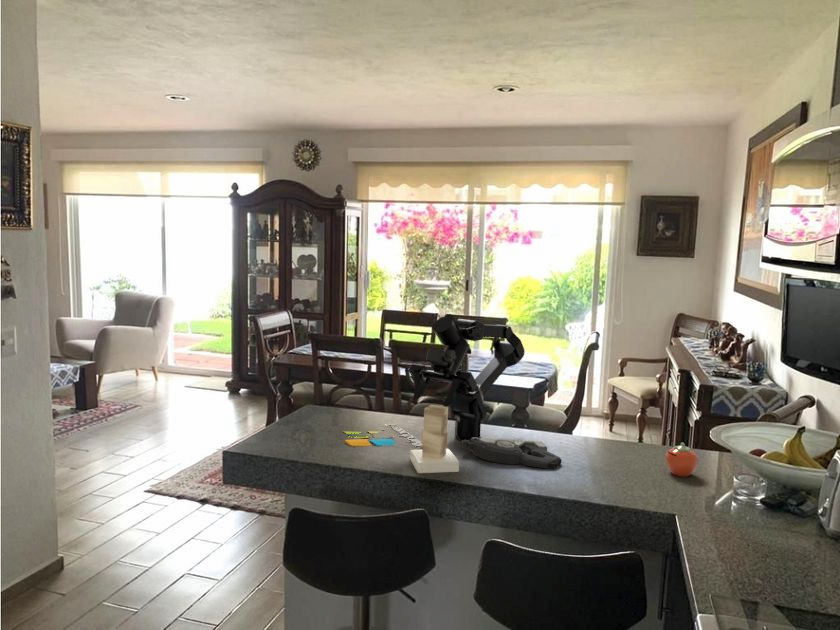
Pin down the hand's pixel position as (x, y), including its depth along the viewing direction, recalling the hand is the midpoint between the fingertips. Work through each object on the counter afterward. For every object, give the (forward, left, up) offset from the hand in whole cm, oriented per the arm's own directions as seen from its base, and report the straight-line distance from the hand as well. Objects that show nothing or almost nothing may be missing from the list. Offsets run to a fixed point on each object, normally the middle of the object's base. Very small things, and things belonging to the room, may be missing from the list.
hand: (429, 403), depth 156 cm
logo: (+11, -16, -14) cm, 24 cm away
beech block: (0, +8, -11) cm, 14 cm away
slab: (0, +8, -14) cm, 16 cm away
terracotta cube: (-3, -5, -14) cm, 15 cm away
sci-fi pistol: (-21, +6, -14) cm, 26 cm away
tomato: (-60, +20, -14) cm, 65 cm away
